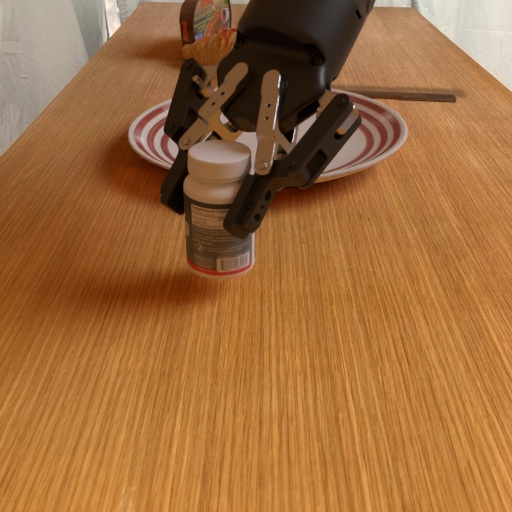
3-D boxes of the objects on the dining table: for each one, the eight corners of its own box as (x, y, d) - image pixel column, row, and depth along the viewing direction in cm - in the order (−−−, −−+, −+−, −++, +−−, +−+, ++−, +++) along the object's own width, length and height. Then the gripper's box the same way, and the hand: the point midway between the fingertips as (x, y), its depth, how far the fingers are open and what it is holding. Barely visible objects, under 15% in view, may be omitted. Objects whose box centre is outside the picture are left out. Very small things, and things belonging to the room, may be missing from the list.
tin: (197, 63, 99) (195, 1, 95) (177, 61, 100) (174, -1, 96) (234, 39, 111) (233, -16, 107) (215, 38, 112) (214, -18, 108)
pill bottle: (201, 242, 50) (197, 132, 46) (263, 252, 49) (265, 141, 45) (176, 275, 47) (169, 159, 42) (243, 286, 45) (243, 168, 41)
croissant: (180, 94, 97) (171, 50, 91) (189, 44, 103) (181, -1, 96) (332, 96, 96) (334, 51, 89) (332, 45, 101) (335, -1, 94)
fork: (319, 96, 86) (320, 92, 86) (320, 92, 88) (320, 88, 87) (456, 102, 85) (456, 98, 84) (454, 97, 86) (454, 93, 86)
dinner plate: (92, 202, 60) (87, 167, 58) (165, 103, 83) (163, 75, 82) (414, 221, 57) (419, 185, 56) (396, 113, 81) (399, 85, 79)
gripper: (207, -51, 47) (90, 167, 45) (396, -29, 40) (265, 234, 38) (254, 17, 53) (153, 211, 51) (425, 47, 46) (314, 276, 44)
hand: (201, 220), depth 44 cm, fingers closed on pill bottle, 4 cm apart
